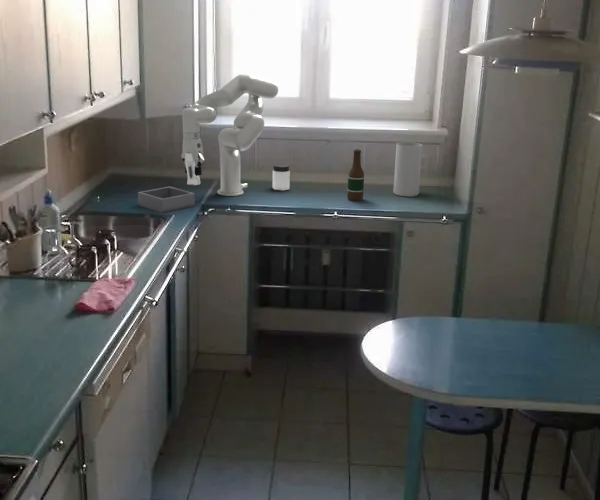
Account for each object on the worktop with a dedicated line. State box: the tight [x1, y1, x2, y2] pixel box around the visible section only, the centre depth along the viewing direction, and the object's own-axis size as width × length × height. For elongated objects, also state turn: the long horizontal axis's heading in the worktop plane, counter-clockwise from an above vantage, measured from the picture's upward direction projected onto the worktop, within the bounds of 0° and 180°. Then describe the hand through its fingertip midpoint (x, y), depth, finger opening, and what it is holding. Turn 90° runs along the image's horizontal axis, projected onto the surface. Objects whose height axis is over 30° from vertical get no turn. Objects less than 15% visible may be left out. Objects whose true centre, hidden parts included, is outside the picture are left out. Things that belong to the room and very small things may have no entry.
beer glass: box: [184, 152, 201, 186], centre depth 350 cm, size 7×7×15 cm
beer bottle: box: [346, 149, 365, 202], centre depth 361 cm, size 8×8×24 cm
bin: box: [137, 186, 196, 214], centre depth 343 cm, size 18×18×6 cm
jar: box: [272, 163, 291, 191], centre depth 381 cm, size 9×8×12 cm
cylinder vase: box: [392, 141, 423, 198], centre depth 375 cm, size 12×12×25 cm
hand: (193, 173), depth 351 cm, fingers closed on beer glass, 6 cm apart
